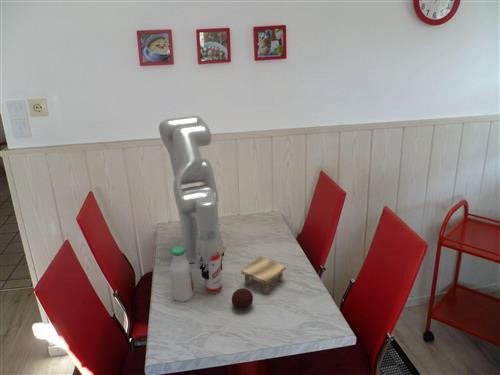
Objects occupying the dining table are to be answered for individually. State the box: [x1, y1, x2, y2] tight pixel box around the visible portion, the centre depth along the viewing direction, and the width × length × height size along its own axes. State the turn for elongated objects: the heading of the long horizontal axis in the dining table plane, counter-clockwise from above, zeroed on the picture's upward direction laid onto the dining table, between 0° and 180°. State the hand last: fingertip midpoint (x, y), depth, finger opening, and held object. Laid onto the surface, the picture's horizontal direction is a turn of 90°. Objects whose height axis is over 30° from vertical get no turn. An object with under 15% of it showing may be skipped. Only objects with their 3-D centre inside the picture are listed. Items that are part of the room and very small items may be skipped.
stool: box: [240, 256, 286, 295], centre depth 156 cm, size 12×12×6 cm
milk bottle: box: [169, 245, 195, 303], centre depth 149 cm, size 8×8×20 cm
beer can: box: [203, 252, 223, 294], centre depth 152 cm, size 6×6×16 cm
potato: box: [231, 287, 254, 310], centre depth 144 cm, size 7×8×7 cm
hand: (212, 273), depth 152 cm, fingers closed on beer can, 6 cm apart
